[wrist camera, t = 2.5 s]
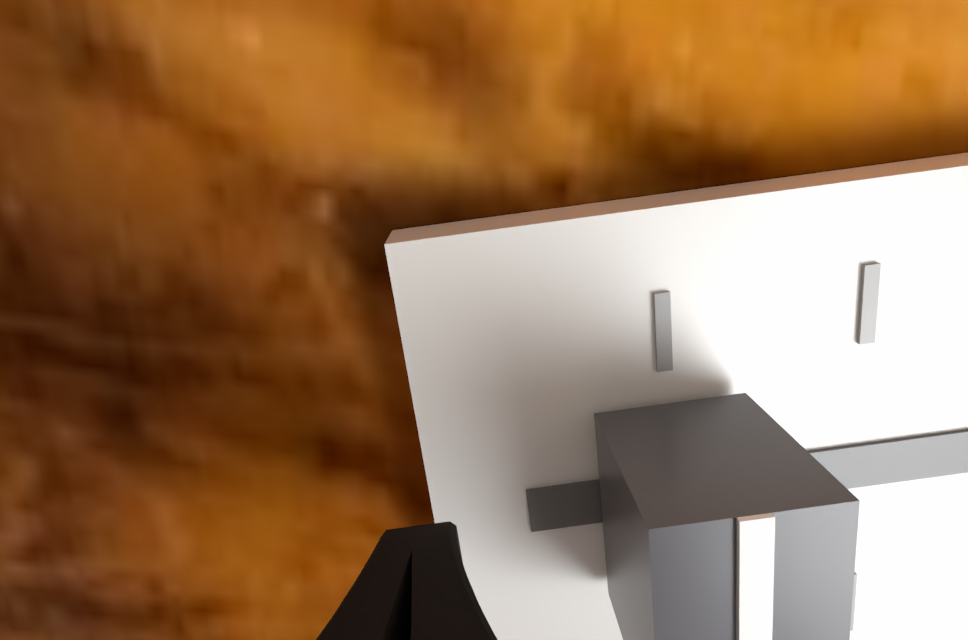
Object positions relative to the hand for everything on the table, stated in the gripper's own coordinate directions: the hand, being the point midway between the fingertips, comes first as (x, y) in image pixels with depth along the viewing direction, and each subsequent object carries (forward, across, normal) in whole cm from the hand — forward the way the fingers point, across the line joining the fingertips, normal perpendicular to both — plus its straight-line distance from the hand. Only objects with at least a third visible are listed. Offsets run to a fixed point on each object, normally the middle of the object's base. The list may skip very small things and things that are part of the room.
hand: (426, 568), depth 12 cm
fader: (+1, -5, 0) cm, 5 cm away
